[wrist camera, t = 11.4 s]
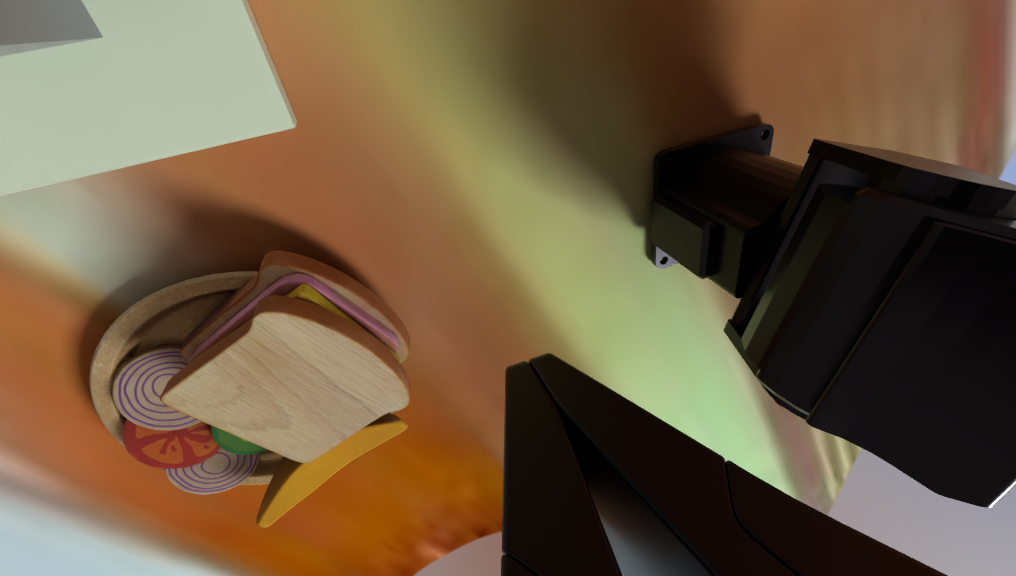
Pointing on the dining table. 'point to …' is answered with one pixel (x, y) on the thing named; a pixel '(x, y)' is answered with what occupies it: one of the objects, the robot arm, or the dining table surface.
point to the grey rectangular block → (43, 24)
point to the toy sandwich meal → (254, 379)
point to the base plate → (137, 91)
